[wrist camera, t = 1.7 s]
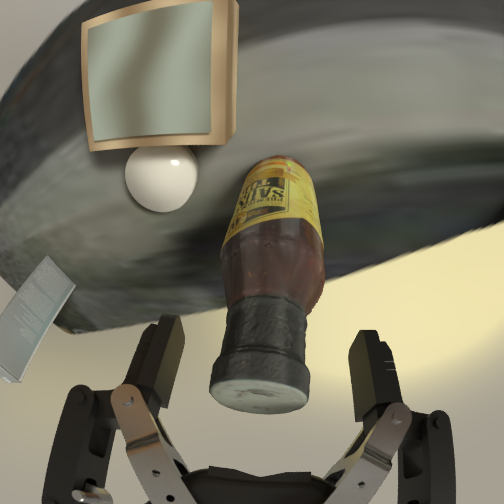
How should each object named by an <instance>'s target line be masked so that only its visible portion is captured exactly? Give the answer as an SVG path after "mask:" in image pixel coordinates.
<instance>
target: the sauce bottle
mask: <svg viewBox="0 0 504 504" xmlns="http://www.w3.org/2000/svg"><path fill="white" fill-rule="evenodd" d="M323 255H324V246H323V239H322V233H321V227H320V221H319V214H318V208H317V202H316V196H315V191H314V186H313V182H312V180H311V178H310V176H309V174H308V172H307V170H306V169H305V167H304V166H303V165H302V164H301V163H300V162H298V161H297V160H295V159H293V158H291V157H286V156H281V155H277V156H272V157H269V158H266V159H264V160H261V161H260V162H259V163H258V164H256V165H255V166H254V167H253V169H252V170H251V171H250V172H249V174H248V175H247V177H246V179H245V182H244V185H243V187H242V190H241V193H240V196H239V199H238V202H237V204H236V207H235V211H234V213H233V216H232V219H231V222H230V225H229V228H228V231H227V234H226V237H225V240H224V243H223V245H222V249H221V252H220V258H219V260H220V264H221V268H222V275H223V281H224V288H225V295H226V301H227V308H228V312H227V317H226V324H227V326H226V331H225V335H224V339H223V343H222V349H221V354H220V356H219V357H218V358H217V359H216V361H215V363H214V364H213V368H212V374H211V380H210V386H209V392H210V394H211V395H212V397H213V398H214V399H215V400H216V401H218V402H219V403H220V404H221V405H224V406H226V407H228V408H231V409H234V410H237V411H241V412H248V413H255V414H282V413H288V412H292V411H295V410H298V409H300V408H302V407H304V406H305V405H306V403H307V402H308V399H309V384H310V372H309V369H308V368H307V366H306V365H305V348H306V343H305V336H306V334H305V332H306V328H307V320H306V316H307V315H308V314H310V313H311V311H312V309H313V308H314V306H315V304H316V303H317V302H318V300H319V298H320V296H321V294H322V291H323V287H324V283H325V267H324V261H323Z"/></svg>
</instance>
